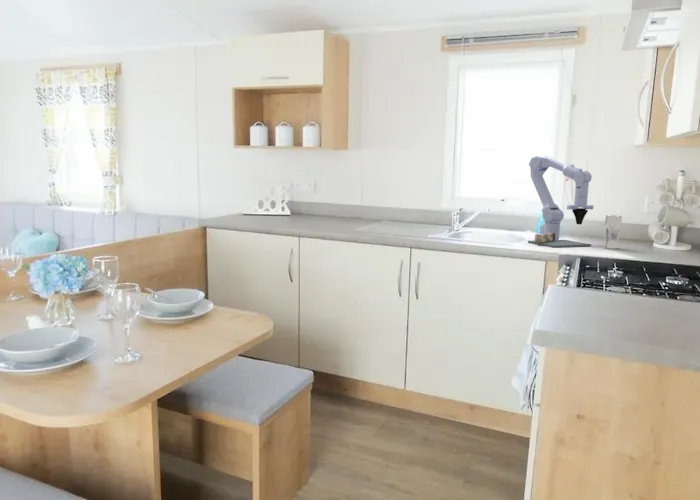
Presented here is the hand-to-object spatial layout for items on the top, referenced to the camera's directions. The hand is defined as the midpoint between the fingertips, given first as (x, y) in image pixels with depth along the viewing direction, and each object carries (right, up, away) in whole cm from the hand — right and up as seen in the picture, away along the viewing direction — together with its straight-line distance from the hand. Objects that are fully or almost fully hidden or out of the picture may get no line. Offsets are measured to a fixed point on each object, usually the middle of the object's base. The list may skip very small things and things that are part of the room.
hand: (579, 224), depth 269 cm
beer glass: (+9, -12, -14) cm, 21 cm away
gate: (-18, -8, -4) cm, 20 cm away
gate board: (-12, -10, -5) cm, 16 cm away
